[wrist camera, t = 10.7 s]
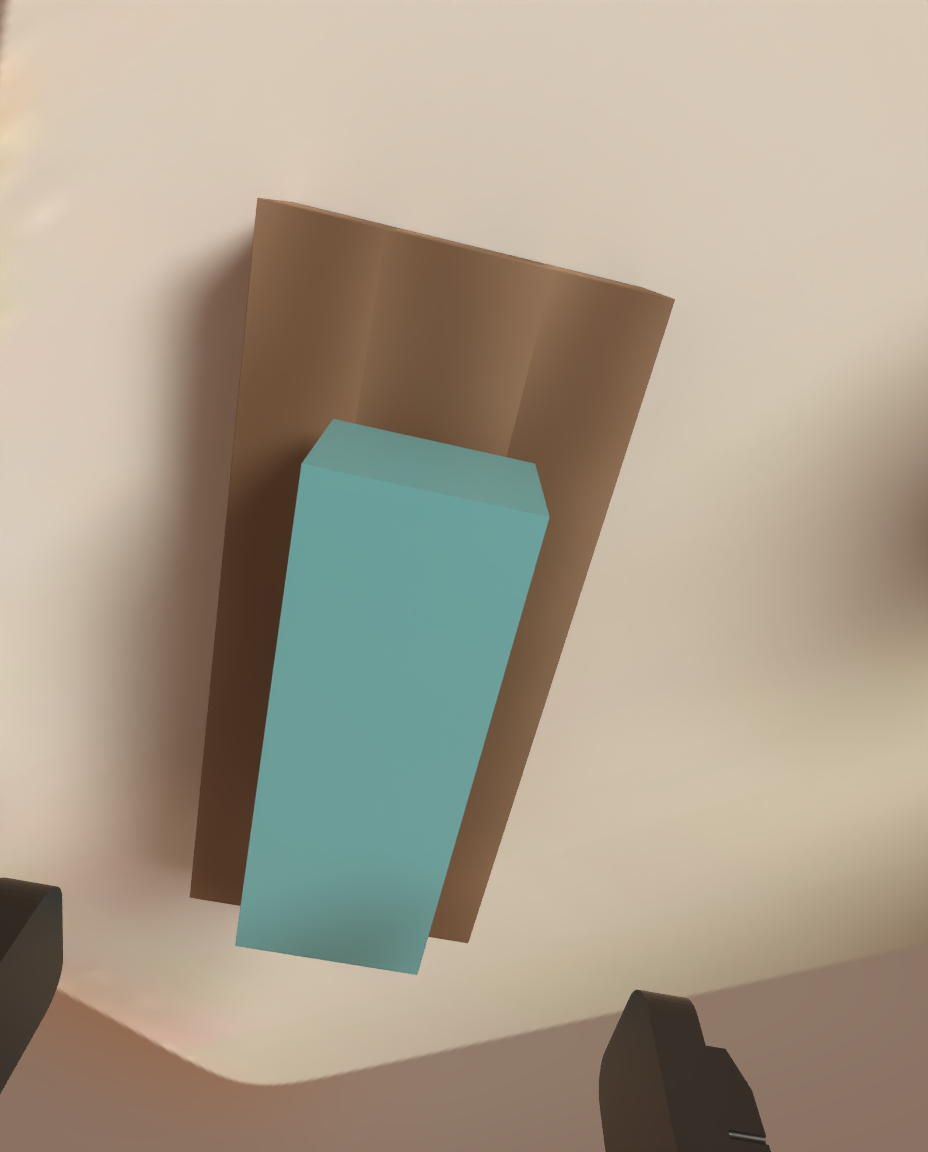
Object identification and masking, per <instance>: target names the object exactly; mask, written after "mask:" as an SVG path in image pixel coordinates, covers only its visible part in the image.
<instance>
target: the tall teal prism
mask: <svg viewBox="0 0 928 1152" xmlns="http://www.w3.org/2000/svg"><path fill="white" fill-rule="evenodd" d="M548 521H549V513H548V509H547V506H546V502H545V498H544V494H543V491H542V487H541V483H540V480H539V476H538V472H537V469H536V465H535V463H530V462H526V461H521V460H517V459H512V458H508V457H503V456H499V455H494V454H490V453H485V452H481V451H476V450H472V449H467V448H463V447H458V446H454V445H449V444H445V443H440V442H436V441H431V440H427V439H422V438H418V437H413V436H409V435H404V434H400V433H395V432H390V431H386V430H381V429H377V428H372V427H368V426H363V425H359V424H354V423H350V422H345V421H341V420H336V419H333V420H332V421H331V423H330V424H329V426H328V427H327V428H326V430H325V431H324V433H323V434H322V435H321V437H320V438H319V440H318V441H317V443H316V444H315V445H314V447H313V448H312V450H311V451H310V452H309V454H308V455H307V457H306V458H305V459H304V461H303V462H302V464H301V471H300V479H299V486H298V493H297V500H296V508H295V515H294V522H293V529H292V537H291V544H290V551H289V558H288V566H287V573H286V580H285V588H284V595H283V602H282V609H281V617H280V624H279V631H278V638H277V646H276V653H275V660H274V667H273V675H272V682H271V689H270V697H269V704H268V711H267V718H266V726H265V733H264V740H263V747H262V755H261V762H260V769H259V776H258V784H257V791H256V798H255V806H254V813H253V820H252V827H251V835H250V842H249V849H248V856H247V864H246V871H245V878H244V885H243V893H242V900H241V907H240V915H239V922H238V929H237V936H236V944H235V946H240V947H246V948H252V949H258V950H265V951H271V952H277V953H283V954H290V955H296V956H302V957H308V958H315V959H321V960H327V961H333V962H340V963H346V964H352V965H358V966H365V967H371V968H377V969H383V970H390V971H396V972H402V973H408V974H415V975H417V973H418V970H419V967H420V963H421V960H422V956H423V953H424V949H425V946H426V942H427V939H428V935H429V932H430V929H431V925H432V922H433V918H434V915H435V911H436V908H437V904H438V901H439V897H440V894H441V891H442V887H443V884H444V880H445V877H446V873H447V870H448V866H449V863H450V859H451V856H452V853H453V849H454V846H455V842H456V839H457V835H458V832H459V828H460V825H461V821H462V818H463V815H464V811H465V808H466V804H467V801H468V797H469V794H470V790H471V787H472V783H473V780H474V777H475V773H476V770H477V766H478V763H479V759H480V756H481V752H482V749H483V745H484V742H485V739H486V735H487V732H488V728H489V725H490V721H491V718H492V714H493V711H494V707H495V704H496V701H497V697H498V694H499V690H500V687H501V683H502V680H503V676H504V673H505V669H506V666H507V663H508V659H509V656H510V652H511V649H512V645H513V642H514V638H515V635H516V631H517V628H518V625H519V621H520V618H521V614H522V611H523V607H524V604H525V600H526V597H527V593H528V590H529V587H530V583H531V580H532V576H533V573H534V569H535V566H536V562H537V559H538V555H539V552H540V549H541V545H542V542H543V538H544V535H545V531H546V528H547V524H548Z"/></svg>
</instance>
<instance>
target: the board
mask: <svg viewBox="0 0 928 1152" xmlns="http://www.w3.org/2000/svg"><path fill="white" fill-rule="evenodd" d="M674 301H675V299H672V298H670V297H667V296H664V295H661V294H659V293H656V292H653V291H650V290H648V289H645V288H642V287H638V286H634V285H630V284H626V283H621V282H617V281H613V280H609V279H605V278H601V277H597V276H593V275H589V274H585V273H580V272H576V271H572V270H568V269H564V268H560V267H556V266H552V265H548V264H544V263H539V262H535V261H531V260H527V259H523V258H519V257H515V256H511V255H507V254H503V253H498V252H494V251H490V250H486V249H482V248H478V247H474V246H470V245H466V244H462V243H457V242H453V241H449V240H445V239H441V238H437V237H433V236H429V235H425V234H421V233H416V232H412V231H408V230H404V229H400V228H396V227H392V226H388V225H384V224H380V223H375V222H371V221H367V220H363V219H359V218H355V217H351V216H347V215H343V214H339V213H334V212H330V211H326V210H322V209H318V208H314V207H310V206H306V205H302V204H298V203H293V202H286V201H278V200H270V199H263V198H257V208H256V218H255V229H254V239H253V249H252V260H251V270H250V280H249V291H248V301H247V311H246V322H245V332H244V342H243V353H242V363H241V374H240V384H239V394H238V405H237V415H236V425H235V436H234V446H233V456H232V467H231V477H230V487H229V498H228V508H227V519H226V529H225V539H224V550H223V560H222V570H221V581H220V591H219V601H218V612H217V622H216V632H215V643H214V653H213V663H212V674H211V684H210V695H209V705H208V715H207V726H206V736H205V746H204V757H203V767H202V777H201V788H200V798H199V808H198V819H197V829H196V840H195V850H194V860H193V871H192V881H191V891H190V898H196V899H202V900H208V901H215V902H221V903H227V904H233V905H239V906H241V900H242V893H243V885H244V878H245V871H246V864H247V856H248V849H249V842H250V835H251V827H252V820H253V813H254V806H255V798H256V791H257V784H258V776H259V769H260V762H261V755H262V747H263V740H264V733H265V726H266V718H267V711H268V704H269V697H270V689H271V682H272V675H273V667H274V660H275V653H276V646H277V638H278V631H279V624H280V617H281V609H282V602H283V595H284V588H285V580H286V573H287V566H288V558H289V551H290V544H291V537H292V529H293V522H294V515H295V508H296V500H297V493H298V486H299V479H300V471H301V464H302V462H303V461H304V459H305V458H306V457H307V455H308V454H309V452H310V451H311V450H312V448H313V447H314V445H315V444H316V443H317V441H318V440H319V438H320V437H321V435H322V434H323V433H324V431H325V430H326V428H327V427H328V426H329V424H330V423H331V421H332V420H333V419H336V420H341V421H345V422H350V423H354V424H359V425H363V426H368V427H372V428H377V429H381V430H386V431H390V432H395V433H400V434H404V435H409V436H413V437H418V438H422V439H427V440H431V441H436V442H440V443H445V444H449V445H454V446H458V447H463V448H467V449H472V450H476V451H481V452H485V453H490V454H494V455H499V456H503V457H508V458H512V459H517V460H521V461H526V462H530V463H535V465H536V469H537V472H538V476H539V480H540V483H541V487H542V491H543V494H544V498H545V502H546V506H547V509H548V513H549V521H548V524H547V528H546V531H545V535H544V538H543V542H542V545H541V549H540V552H539V555H538V559H537V562H536V566H535V569H534V573H533V576H532V580H531V583H530V587H529V590H528V593H527V597H526V600H525V604H524V607H523V611H522V614H521V618H520V621H519V625H518V628H517V631H516V635H515V638H514V642H513V645H512V649H511V652H510V656H509V659H508V663H507V666H506V669H505V673H504V676H503V680H502V683H501V687H500V690H499V694H498V697H497V701H496V704H495V707H494V711H493V714H492V718H491V721H490V725H489V728H488V732H487V735H486V739H485V742H484V745H483V749H482V752H481V756H480V759H479V763H478V766H477V770H476V773H475V777H474V780H473V783H472V787H471V790H470V794H469V797H468V801H467V804H466V808H465V811H464V815H463V818H462V821H461V825H460V828H459V832H458V835H457V839H456V842H455V846H454V849H453V853H452V856H451V859H450V863H449V866H448V870H447V873H446V877H445V880H444V884H443V887H442V891H441V894H440V897H439V901H438V904H437V908H436V911H435V915H434V918H433V922H432V925H431V929H430V932H429V935H428V937H433V938H440V939H446V940H452V941H458V942H464V943H468V942H469V939H470V935H471V932H472V929H473V926H474V923H475V920H476V917H477V914H478V911H479V907H480V904H481V901H482V898H483V895H484V892H485V889H486V886H487V883H488V879H489V876H490V873H491V870H492V867H493V864H494V861H495V858H496V855H497V851H498V848H499V845H500V842H501V839H502V836H503V833H504V830H505V827H506V823H507V820H508V817H509V814H510V811H511V808H512V805H513V802H514V799H515V795H516V792H517V789H518V786H519V783H520V780H521V777H522V774H523V771H524V767H525V764H526V761H527V758H528V755H529V752H530V749H531V746H532V743H533V739H534V736H535V733H536V730H537V727H538V724H539V721H540V718H541V715H542V711H543V708H544V705H545V702H546V699H547V696H548V693H549V690H550V687H551V683H552V680H553V677H554V674H555V671H556V668H557V665H558V662H559V659H560V655H561V652H562V649H563V646H564V643H565V640H566V637H567V634H568V631H569V627H570V624H571V621H572V618H573V615H574V612H575V609H576V606H577V603H578V599H579V596H580V593H581V590H582V587H583V584H584V581H585V578H586V575H587V571H588V568H589V565H590V562H591V559H592V556H593V553H594V550H595V547H596V543H597V540H598V537H599V534H600V531H601V528H602V525H603V522H604V519H605V515H606V512H607V509H608V506H609V503H610V500H611V497H612V494H613V491H614V487H615V484H616V481H617V478H618V475H619V472H620V469H621V466H622V463H623V459H624V456H625V453H626V450H627V447H628V444H629V441H630V438H631V435H632V431H633V428H634V425H635V422H636V419H637V416H638V413H639V410H640V407H641V403H642V400H643V397H644V394H645V391H646V388H647V385H648V382H649V379H650V375H651V372H652V369H653V366H654V363H655V360H656V357H657V354H658V351H659V347H660V344H661V341H662V338H663V335H664V332H665V329H666V326H667V323H668V319H669V316H670V313H671V310H672V307H673V304H674Z"/></svg>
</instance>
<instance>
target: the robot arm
mask: <svg viewBox="0 0 928 1152" xmlns="http://www.w3.org/2000/svg"><path fill="white" fill-rule="evenodd" d="M62 964H63V927H62V892H61V889H60V888H59V887H56V886H50V885H44V884H39V883H33V882H27V881H21V880H16V879H10V878H0V1093H1V1092H2V1090H3V1088H4V1086H5V1085H6V1083H7V1081H8V1079H9V1077H10V1075H11V1073H12V1072H13V1070H14V1069H15V1067H16V1065H17V1063H18V1061H19V1060H20V1058H21V1056H22V1054H23V1052H24V1051H25V1049H26V1047H27V1045H28V1044H29V1042H30V1040H31V1038H32V1037H33V1035H34V1033H35V1031H36V1029H37V1028H38V1026H39V1024H40V1022H41V1021H42V1019H43V1017H44V1015H45V1013H46V1011H47V1010H48V1008H49V1005H50V1003H51V1001H52V999H53V996H54V994H55V991H56V988H57V985H58V982H59V979H60V975H61V970H62ZM599 1102H600V1111H601V1119H602V1127H603V1135H604V1142H605V1150H606V1152H771V1151H770V1148H769V1145H766V1142H765V1137H766V1135H765V1131H764V1129H763V1125H762V1122H761V1119H760V1115H759V1112H758V1109H757V1106H756V1103H755V1099H754V1096H753V1093H752V1090H751V1088H750V1087H749V1085H748V1084H747V1082H746V1080H745V1079H744V1077H743V1076H742V1074H741V1073H740V1071H739V1070H738V1068H737V1066H736V1065H735V1063H734V1062H733V1060H732V1058H731V1057H730V1055H729V1054H728V1052H727V1051H726V1049H723V1048H716V1047H711V1046H705V1042H704V1038H703V1035H702V1031H701V1027H700V1023H699V1020H698V1016H697V1013H696V1010H695V1008H694V1005H693V1004H692V1002H691V1001H690V1000H689V999H687V998H682V997H676V996H671V995H665V994H659V993H653V992H648V991H642V990H635V991H634V992H633V993H632V994H631V996H630V998H629V1000H628V1002H627V1005H626V1007H625V1009H624V1011H623V1013H622V1015H621V1018H620V1020H619V1022H618V1024H617V1026H616V1029H615V1031H614V1033H613V1035H612V1038H611V1040H610V1042H609V1044H608V1046H607V1048H606V1051H605V1053H604V1056H603V1059H602V1064H601V1069H600V1078H599Z"/></svg>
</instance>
